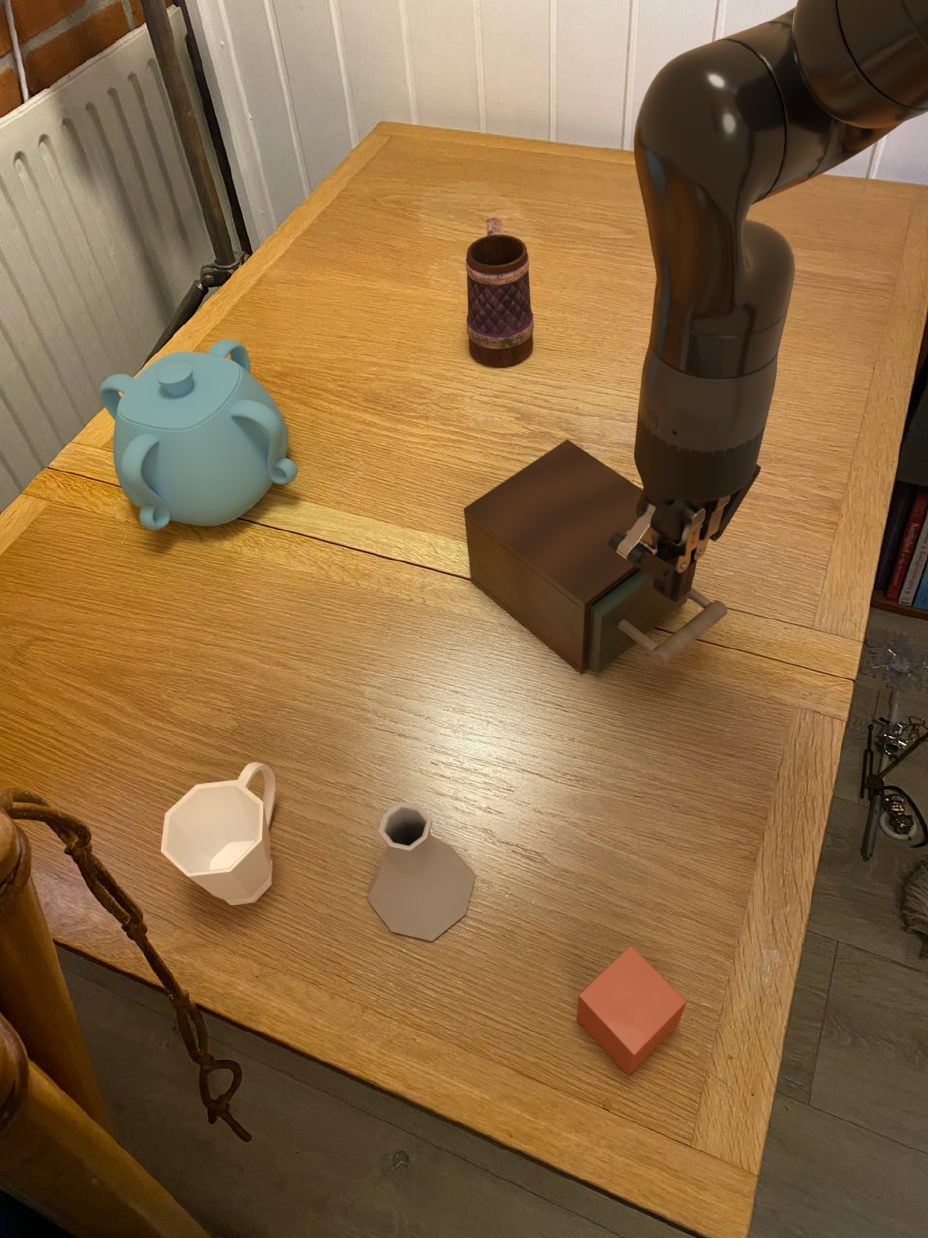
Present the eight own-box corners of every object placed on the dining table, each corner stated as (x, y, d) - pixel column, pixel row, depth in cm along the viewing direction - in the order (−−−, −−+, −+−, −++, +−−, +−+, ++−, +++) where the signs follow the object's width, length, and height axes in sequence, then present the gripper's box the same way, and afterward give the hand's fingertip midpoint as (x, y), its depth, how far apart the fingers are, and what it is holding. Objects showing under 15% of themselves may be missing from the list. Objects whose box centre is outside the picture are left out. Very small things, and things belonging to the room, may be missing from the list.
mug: (535, 367, 101) (533, 264, 92) (468, 370, 101) (459, 268, 92) (532, 310, 107) (530, 208, 98) (469, 313, 108) (461, 212, 98)
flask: (436, 961, 63) (419, 904, 55) (349, 906, 66) (322, 843, 58) (493, 872, 67) (486, 807, 59) (409, 823, 70) (391, 754, 62)
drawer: (733, 636, 77) (748, 577, 71) (644, 711, 73) (652, 655, 67) (579, 523, 85) (581, 463, 80) (492, 586, 82) (488, 527, 76)
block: (625, 971, 62) (630, 944, 58) (678, 1025, 60) (687, 1001, 56) (576, 1019, 60) (578, 995, 56) (628, 1077, 58) (634, 1056, 54)
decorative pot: (127, 450, 98) (74, 338, 87) (281, 411, 99) (247, 296, 89) (141, 563, 88) (83, 452, 77) (311, 517, 90) (278, 402, 79)
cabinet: (679, 597, 81) (691, 522, 74) (581, 675, 76) (584, 603, 69) (566, 514, 88) (567, 438, 80) (470, 581, 83) (463, 508, 76)
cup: (177, 909, 67) (138, 862, 60) (239, 786, 72) (209, 730, 66) (268, 937, 65) (237, 890, 59) (323, 808, 71) (301, 753, 64)
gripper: (676, 491, 52) (648, 672, 66) (825, 381, 57) (771, 570, 71) (578, 427, 56) (571, 610, 70) (726, 328, 61) (693, 517, 74)
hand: (672, 590), depth 70 cm, fingers closed
